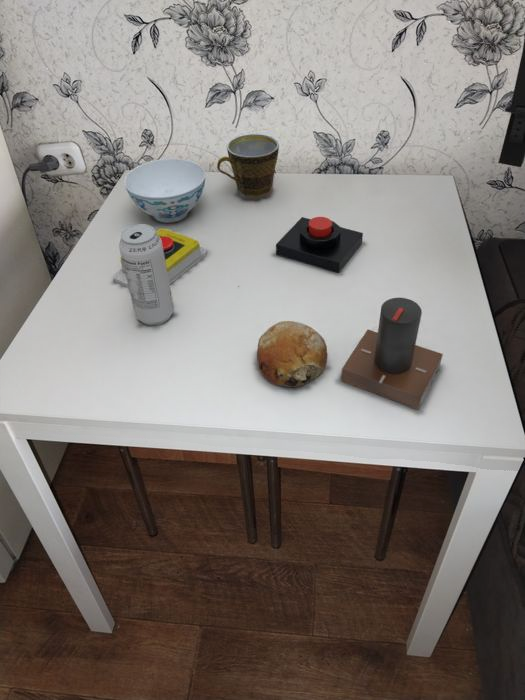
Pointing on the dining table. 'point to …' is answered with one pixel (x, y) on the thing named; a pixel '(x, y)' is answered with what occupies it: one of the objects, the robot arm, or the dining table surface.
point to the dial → (397, 335)
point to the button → (320, 227)
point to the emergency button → (173, 255)
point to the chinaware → (166, 187)
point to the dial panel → (392, 386)
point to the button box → (319, 246)
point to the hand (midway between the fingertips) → (510, 162)
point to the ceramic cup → (252, 164)
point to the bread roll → (291, 354)
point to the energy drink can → (146, 274)
